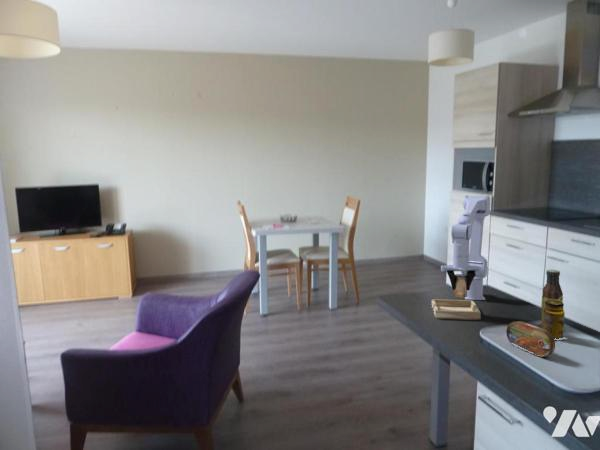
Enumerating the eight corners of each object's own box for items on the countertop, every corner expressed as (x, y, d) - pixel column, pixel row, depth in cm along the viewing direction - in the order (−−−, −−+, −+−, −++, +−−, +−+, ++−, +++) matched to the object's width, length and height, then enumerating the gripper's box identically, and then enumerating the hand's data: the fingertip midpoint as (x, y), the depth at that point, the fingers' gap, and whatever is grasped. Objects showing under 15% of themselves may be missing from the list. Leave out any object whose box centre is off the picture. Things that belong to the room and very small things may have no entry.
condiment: (569, 339, 138) (571, 304, 136) (545, 342, 137) (547, 306, 135) (553, 331, 145) (555, 297, 143) (530, 333, 144) (532, 299, 142)
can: (453, 293, 167) (453, 273, 166) (466, 293, 166) (466, 274, 165) (454, 297, 163) (455, 277, 161) (468, 297, 162) (468, 277, 160)
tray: (431, 306, 174) (431, 299, 173) (472, 307, 171) (472, 300, 170) (435, 318, 160) (435, 311, 160) (480, 320, 157) (480, 312, 157)
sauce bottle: (564, 329, 146) (567, 273, 143) (544, 328, 147) (547, 273, 145) (557, 322, 153) (560, 268, 150) (538, 321, 154) (540, 268, 151)
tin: (505, 343, 137) (506, 318, 136) (512, 341, 139) (512, 316, 137) (549, 361, 124) (550, 334, 123) (556, 359, 125) (557, 332, 124)
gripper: (443, 257, 160) (442, 292, 161) (483, 257, 157) (482, 292, 159) (440, 253, 166) (439, 286, 168) (479, 253, 164) (478, 287, 166)
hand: (460, 289), depth 164 cm, fingers closed on can, 5 cm apart
